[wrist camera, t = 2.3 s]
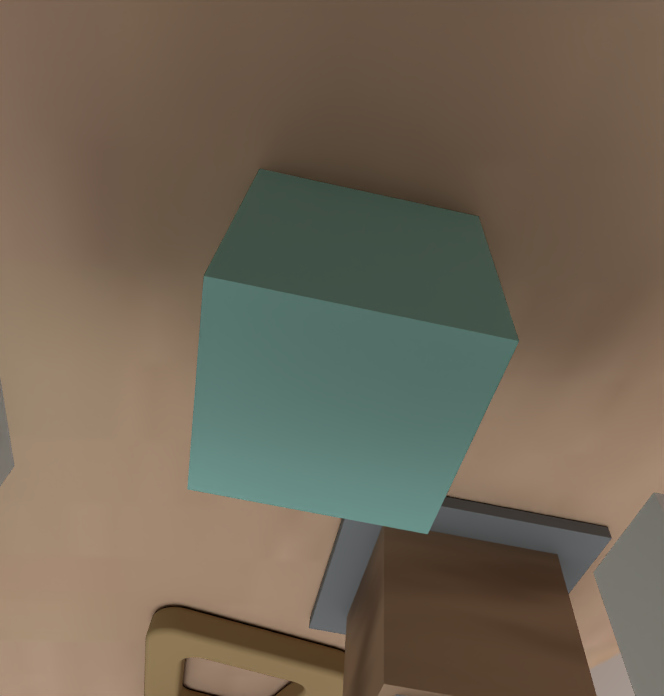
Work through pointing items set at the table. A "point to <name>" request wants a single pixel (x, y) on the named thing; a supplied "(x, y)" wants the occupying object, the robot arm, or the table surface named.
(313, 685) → the headphone stand
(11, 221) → the table surface
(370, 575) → the base block
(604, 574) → the robot arm
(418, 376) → the teal block
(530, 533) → the coaster
